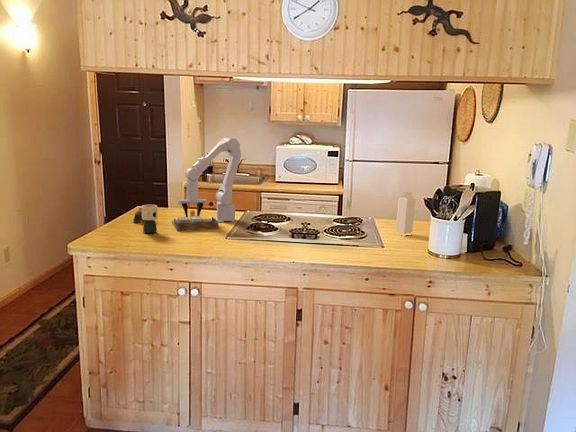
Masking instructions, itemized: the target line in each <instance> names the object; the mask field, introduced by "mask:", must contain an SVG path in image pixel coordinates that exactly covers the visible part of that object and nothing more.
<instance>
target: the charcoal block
mask: <svg viewBox="0 0 576 432" xmlns="http://www.w3.org/2000/svg"><path fill="white" fill-rule="evenodd" d="M188 218H189V217H188ZM188 218H187V217H186V216H177V220H178V223H181V222H189V220H190V218H189V219H188Z"/></svg>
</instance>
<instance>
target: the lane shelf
mask: <svg viewBox="0 0 576 432" xmlns="http://www.w3.org/2000/svg"><path fill="white" fill-rule="evenodd" d="M188 219H189V222H181V223H178V219H176V218H174V219H173V220H171V223H172V225H173V227H174V228H175V230H176V231H177V232H188V231H203V230H204V231H205V230H207V231H208V229H209V230H219V229H220V228H219V222H218V221H216V220H215V217H214V216H213V217H211V218H202V222H191V221H190V217H188Z"/></svg>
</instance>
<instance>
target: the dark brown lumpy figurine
mask: <svg viewBox="0 0 576 432" xmlns="http://www.w3.org/2000/svg"><path fill="white" fill-rule="evenodd" d="M132 220H133V221H132V222H133V223H135V224H139V225H141V222H142V223H143V224H144V221H145V220H143V219H142V207H140V208H139V209H138V210H136V212H135V213H134V217H133V219H132Z"/></svg>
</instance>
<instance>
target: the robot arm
mask: <svg viewBox="0 0 576 432" xmlns="http://www.w3.org/2000/svg"><path fill="white" fill-rule="evenodd" d="M240 146H241V143H240V142H239V141H238V140H237V139H236V138H234V137H229V136H225V137H223V138H222V139H221V140H219V141H218V143H217V144H216V145H215V146H214V147H213V148H212V149H211V151H209V152H208V153H207V154H206V156H205V157H204V156H202V157H198V158H197V161H196V162H195V163H193V165H191V166H190V167H189V168H187V169H186V171H185V173H184V175H185V177H186V199H178V200H177V204H178V205H181V207H182V209H183V211H184V215H185V217H187V218H189V214H188V213H189V211H188V209H189V208H188V205H189V204H190V205H191V204H193V205H195V204H196V216H201V212H202V209H203V207H204V205H205V204H207V203H208V200H207V199H206V198H205V199H204V198H203V199H202V198H199V179H200V177H201V174H202V173H203V172H204V171H205V170H207V169H208V168H209V167H210V165H211V164H210V163H211V161H212V160H214V159H215V158H216V157H218V155H220V154H221V153H222V152H227V153H228V155H229V156H230V157H229V159H228V164H227V168H226V171H225V174H224V177H223V181H222V184H221V186H219V188H218V190H217V192H215V197H214V198H215V199H216V201H217V202H216V217H214V219H215V220H216V221H218V223H223V222H224V221H232V222H236V206H235V204H234V203H232V202H233V194H234V193H233V189H232V188H233V185H234V182H235V179H236V175H237V171H238V168H239V166H240V165H239V164H240V161H241V158H242V152H241V147H240ZM224 223H225V222H224Z"/></svg>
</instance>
